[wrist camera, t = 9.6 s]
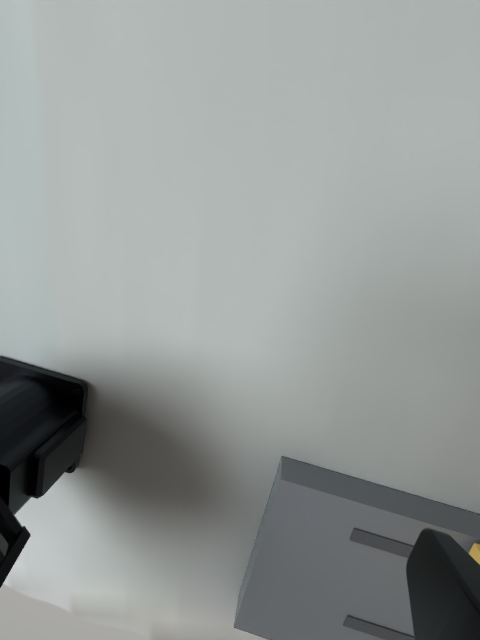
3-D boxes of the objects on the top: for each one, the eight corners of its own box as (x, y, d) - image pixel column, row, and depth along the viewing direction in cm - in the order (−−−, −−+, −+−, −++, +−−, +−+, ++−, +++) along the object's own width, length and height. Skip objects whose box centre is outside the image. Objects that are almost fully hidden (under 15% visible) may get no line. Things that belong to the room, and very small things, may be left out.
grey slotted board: (238, 596, 25) (233, 629, 23) (282, 456, 22) (280, 480, 20) (478, 675, 24) (495, 717, 22) (563, 539, 20) (592, 574, 18)
